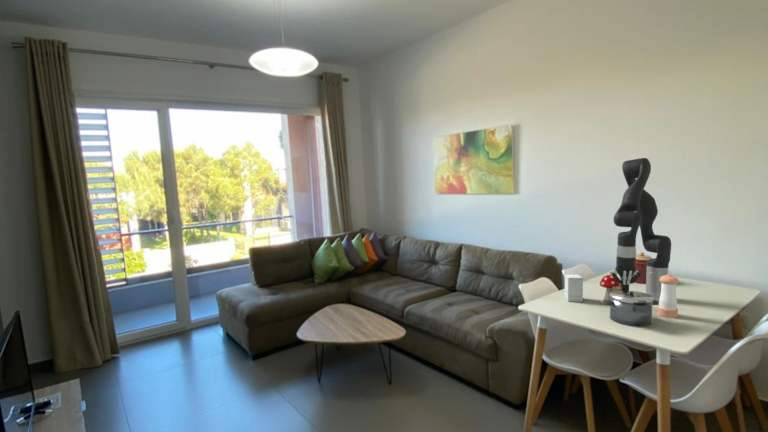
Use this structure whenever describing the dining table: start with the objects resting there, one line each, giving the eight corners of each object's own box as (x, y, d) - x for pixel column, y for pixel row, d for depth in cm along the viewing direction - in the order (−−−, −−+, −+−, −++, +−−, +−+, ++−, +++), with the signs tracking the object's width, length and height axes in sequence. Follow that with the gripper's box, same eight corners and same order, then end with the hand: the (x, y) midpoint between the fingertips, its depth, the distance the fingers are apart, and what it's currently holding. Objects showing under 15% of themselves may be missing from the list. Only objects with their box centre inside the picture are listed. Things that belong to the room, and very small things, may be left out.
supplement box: (583, 301, 206) (583, 277, 204) (567, 301, 207) (567, 277, 206) (579, 297, 213) (579, 274, 212) (564, 297, 214) (564, 274, 213)
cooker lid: (634, 289, 191) (634, 283, 191) (662, 304, 168) (662, 298, 168) (597, 289, 193) (597, 283, 192) (620, 304, 170) (621, 298, 170)
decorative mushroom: (600, 306, 198) (600, 276, 197) (598, 300, 206) (598, 272, 205) (623, 307, 195) (624, 277, 193) (620, 302, 203) (620, 273, 201)
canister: (623, 279, 245) (623, 250, 243) (642, 277, 246) (643, 249, 244) (639, 284, 232) (639, 254, 230) (659, 283, 233) (660, 253, 232)
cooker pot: (646, 313, 185) (646, 292, 184) (670, 328, 167) (671, 305, 166) (597, 313, 188) (597, 293, 187) (616, 328, 170) (616, 305, 169)
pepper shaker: (671, 319, 178) (672, 277, 176) (654, 314, 184) (655, 273, 183) (681, 316, 181) (682, 274, 179) (664, 311, 187) (665, 271, 186)
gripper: (637, 253, 184) (635, 289, 186) (607, 253, 185) (606, 289, 187) (646, 256, 176) (644, 294, 178) (614, 257, 178) (613, 294, 180)
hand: (624, 292), depth 183 cm, fingers closed
